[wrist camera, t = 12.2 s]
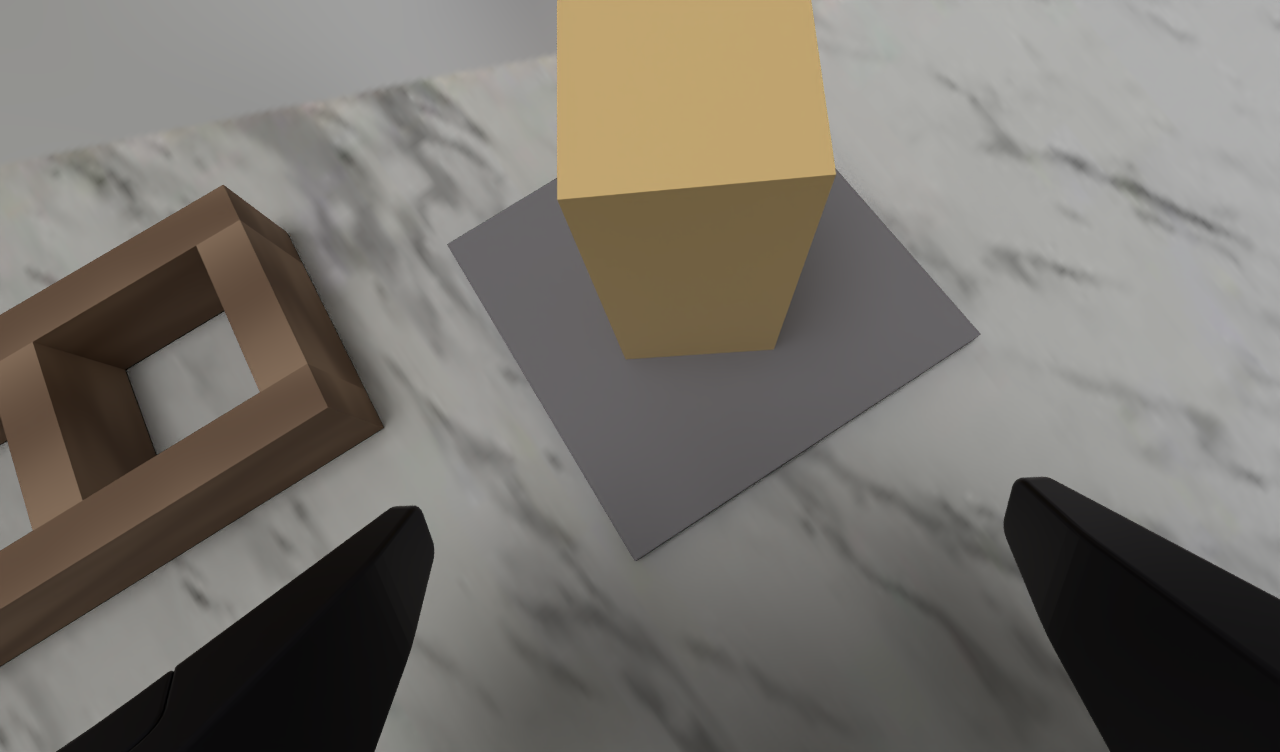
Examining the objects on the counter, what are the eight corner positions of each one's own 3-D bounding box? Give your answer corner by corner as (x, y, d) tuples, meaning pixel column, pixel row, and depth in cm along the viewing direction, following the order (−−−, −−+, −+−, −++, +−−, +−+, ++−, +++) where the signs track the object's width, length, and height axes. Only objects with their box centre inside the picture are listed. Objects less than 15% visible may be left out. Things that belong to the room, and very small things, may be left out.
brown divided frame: (384, 427, 19) (327, 407, 16) (-133, 748, 18) (-289, 787, 15) (286, 232, 22) (223, 184, 19) (-176, 506, 21) (-318, 500, 18)
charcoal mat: (973, 339, 18) (980, 334, 18) (636, 560, 17) (634, 561, 17) (743, 75, 22) (744, 64, 21) (453, 251, 21) (447, 244, 20)
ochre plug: (773, 349, 18) (836, 174, 10) (625, 359, 19) (557, 199, 10) (760, 216, 19) (804, -45, 11) (621, 228, 20) (556, -15, 11)
